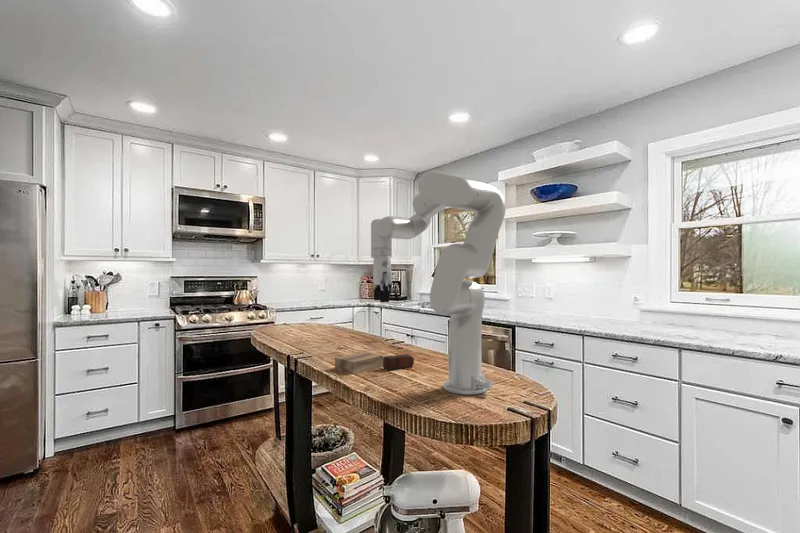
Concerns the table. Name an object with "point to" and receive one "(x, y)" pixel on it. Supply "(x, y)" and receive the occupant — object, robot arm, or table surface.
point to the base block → (358, 362)
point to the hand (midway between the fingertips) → (381, 301)
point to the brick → (397, 362)
